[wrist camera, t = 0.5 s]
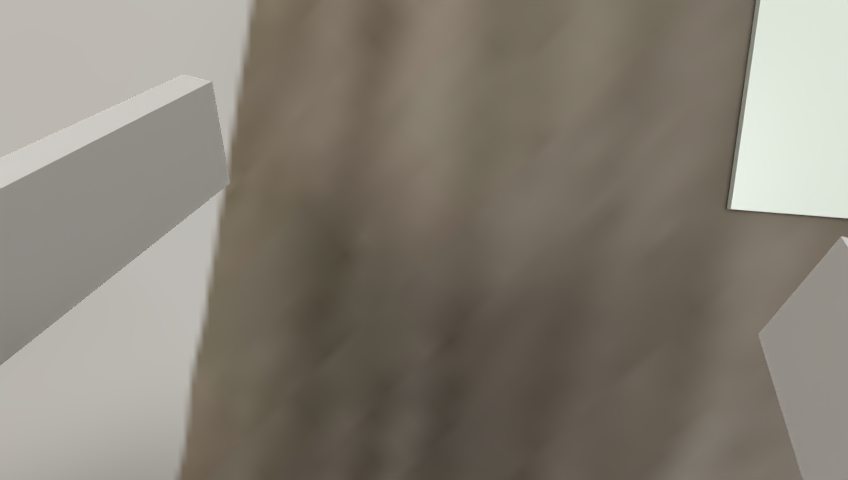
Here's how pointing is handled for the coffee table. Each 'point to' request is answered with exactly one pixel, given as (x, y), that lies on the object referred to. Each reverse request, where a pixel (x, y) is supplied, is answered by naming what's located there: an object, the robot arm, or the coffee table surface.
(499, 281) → the coffee table surface
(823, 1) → the pale green flat panel
